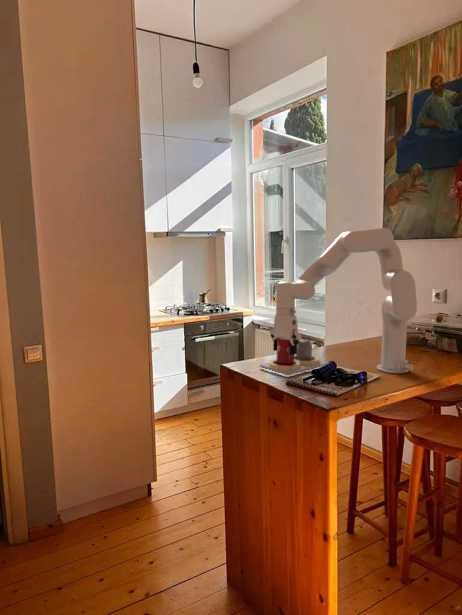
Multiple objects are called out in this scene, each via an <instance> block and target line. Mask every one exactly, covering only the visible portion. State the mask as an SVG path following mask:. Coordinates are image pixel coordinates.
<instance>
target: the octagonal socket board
mask: <svg viewBox="0 0 462 615" xmlns="http://www.w3.org/2000/svg"><path fill="white" fill-rule="evenodd" d="M276 359H277V358H274V359H271V360H269V362H266V363H262V364H259V368H260V367H262V368H265V369H269V370H272V371H275V372H278V373H282V374H285V375H291V374H294V373H298V372H303V371H306V370H310V369H314V368H317V367H320V366H322V365H324V364H327V363H328V364H329V361H328V362H327V361H324V360H320V358H319V357H318V356H316V355H313V354H312V360H311V361H299V360H296V354H295V355H294V365H291V366H281V365H277V364H276Z"/></svg>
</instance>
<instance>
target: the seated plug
mask: <svg viewBox="0 0 462 615" xmlns="http://www.w3.org/2000/svg"><path fill="white" fill-rule="evenodd" d="M312 351H313V345H312V344H311V340H308V339H303V340H302V339H301V340H300V342H299V343H298V345H297V354H295V355H296V360H299V361H311V360H312V355H313V352H312Z"/></svg>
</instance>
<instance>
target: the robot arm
mask: <svg viewBox="0 0 462 615" xmlns="http://www.w3.org/2000/svg"><path fill="white" fill-rule="evenodd" d="M394 237H395V236H394V234H393V232H392V231H391V230H390V229H388V228H385V227H379V228H370V229H365V230H364V229H363V230H348V231H343V232H341V234H339V236H337V238H336V239H334V241H333V242H332V243H331V244H330V245H329V247H328V248H327V249H326V250H325V251H324V252H323V253H322V254H321V255H320V256H319V257H318V258H317V259H316V260H315V261H314V262H313V263H312V264H311V265H310V266H309V267H308V268H306V269H305V271H304V272H302V274H301V275H300V276H299V277H298V279H297V280H296V281H291V280H289V281H287V280H286V281H285V280H284V281H283V280H282V281H278V282H277V283H276V286H275V287H276V288H275V289H276V290H275V291H276V293H275V294H276V295H275V298H276V299H275V300H276V302H275V307H276V308H275V309H276V310H275V314H274V315H275V316H274V320H273V327H272V328H270V329H269V333H270V337H271V339H272V340H271V341H272V342H273V348H272V349H273V351H274V352H275V351H276V352H277V338H278V337H279V338H282V339H287V340H289V341H290V342H291V344H292V345H291V346H290V354H291V355H296V354H297V345H298V343H299V342H300V341H302V338H303V336H302V334H301V333H300V332H299V329H298V328H299V326H298V325H299V324H298V319H297V315H296V312H297V311H296V307H295V305H296V303H295V302H296V300H301V301H309V300H310V299H312V298H314V296H315V294H316V288H315V286H316V285H317V284H318V283H319V282H321V281H322V280H323V279H324V278H326V277H328V276H329V275H332V274H333V273H335V272H337V270H338V269H339V268H340V267H341V266H342V265H343V263H345V261H346V260H347V259H348V258H349V257H350V256H351V255H352V254H353V253H355V254H357V253H368V252H370V253H371V252H375V253H376V255H377V256H378V259H379V260H378V261H379V266H380V272H381V274H380V275H381V284H382V287H383V288H384V289H385V290H386V291H388V292H390V295H387V296H386V297H385V298H384V299H383V301H382V304H381V318H382V330H381V331H382V332H381V350H380V351H381V354H380V355H381V356H380V357H381V358H380V363H378V364H377V365H376V369H377V370H378V371H380V372H383V373H389V374H404V373H408V372H409V371H413V370H414V364H410V363H408V360H407V359H406V349H407V347H406V346H407V333H408V330H407V329H408V328H407V327H408V325H407V324H408V323H407V322H409V321H411V320H412V319H413V318H414V317H415V316H416V314H417V311H418V302H417V301H418V300H417V290H416V283H415V279H414V276H413V275H412V273H410V272H409V271H408V270H405V269H404V266H403V264H404V262H403V257H402V252H401V249H400V246H399V245H398V244H397V242H396V241H395V238H394ZM293 340H294V342H293Z"/></svg>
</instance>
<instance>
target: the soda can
mask: <svg viewBox="0 0 462 615" xmlns="http://www.w3.org/2000/svg"><path fill="white" fill-rule="evenodd" d="M293 342H294V340H293ZM291 345H292V344H291V342H290V341H289V340H287V339H282V338H279V337H278V338H277V350H276V358H275V359H276V364H277V365H281V366H291V365H294V355H291V354H290V346H291Z"/></svg>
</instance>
